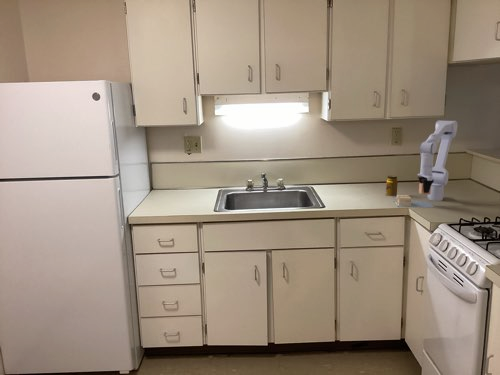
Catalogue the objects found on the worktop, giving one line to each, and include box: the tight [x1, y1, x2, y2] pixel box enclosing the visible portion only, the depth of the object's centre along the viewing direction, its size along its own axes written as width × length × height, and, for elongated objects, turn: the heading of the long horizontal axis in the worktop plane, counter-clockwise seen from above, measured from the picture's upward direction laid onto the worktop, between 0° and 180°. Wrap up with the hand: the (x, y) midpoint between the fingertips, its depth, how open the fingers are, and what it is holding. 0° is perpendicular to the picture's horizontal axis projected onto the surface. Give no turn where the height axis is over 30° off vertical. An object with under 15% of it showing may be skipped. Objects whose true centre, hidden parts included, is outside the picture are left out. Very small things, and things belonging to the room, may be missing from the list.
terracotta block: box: [418, 182, 431, 195], centre depth 218 cm, size 4×4×5 cm
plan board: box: [392, 200, 435, 208], centre depth 222 cm, size 12×18×1 cm, turn 84°
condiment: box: [385, 175, 398, 197], centre depth 241 cm, size 7×8×12 cm
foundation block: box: [395, 194, 412, 205], centre depth 222 cm, size 6×6×4 cm
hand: (424, 191), depth 218 cm, fingers closed on terracotta block, 4 cm apart
